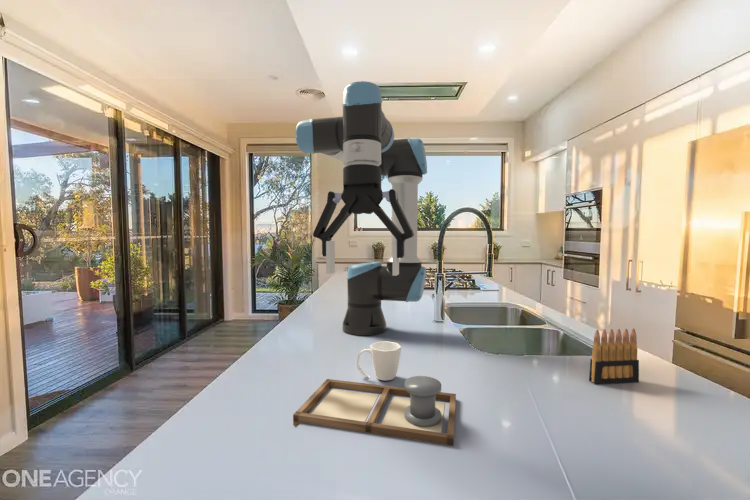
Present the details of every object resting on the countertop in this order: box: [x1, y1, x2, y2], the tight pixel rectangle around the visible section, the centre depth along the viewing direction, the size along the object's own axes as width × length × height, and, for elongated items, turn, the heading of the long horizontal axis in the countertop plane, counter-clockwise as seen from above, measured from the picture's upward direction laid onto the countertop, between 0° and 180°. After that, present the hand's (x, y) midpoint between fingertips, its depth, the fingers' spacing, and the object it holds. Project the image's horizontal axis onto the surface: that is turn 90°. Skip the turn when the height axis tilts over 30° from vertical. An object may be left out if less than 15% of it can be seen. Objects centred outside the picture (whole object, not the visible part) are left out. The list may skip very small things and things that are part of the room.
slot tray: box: [292, 378, 457, 447], centre depth 62 cm, size 15×27×2 cm, turn 75°
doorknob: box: [404, 375, 442, 427], centre depth 60 cm, size 6×6×6 cm
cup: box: [356, 340, 402, 382], centre depth 76 cm, size 7×10×8 cm
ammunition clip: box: [588, 328, 640, 386], centre depth 76 cm, size 11×2×12 cm, turn 96°
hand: (362, 274), depth 68 cm, fingers open, 13 cm apart
